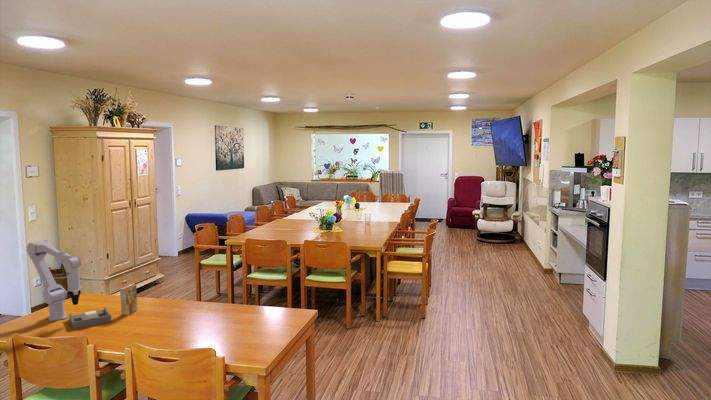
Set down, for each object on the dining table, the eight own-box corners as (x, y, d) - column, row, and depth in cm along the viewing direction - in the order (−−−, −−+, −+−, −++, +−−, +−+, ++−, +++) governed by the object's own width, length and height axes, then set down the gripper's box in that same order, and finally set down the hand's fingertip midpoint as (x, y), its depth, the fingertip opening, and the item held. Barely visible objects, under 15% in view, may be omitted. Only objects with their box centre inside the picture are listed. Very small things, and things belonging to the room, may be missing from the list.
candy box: (131, 309, 283) (130, 283, 281) (138, 310, 282) (136, 284, 280) (121, 315, 274) (119, 288, 273) (127, 315, 273) (125, 288, 272)
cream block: (85, 319, 262) (84, 312, 262) (95, 317, 265) (95, 310, 265) (86, 322, 258) (86, 314, 258) (97, 320, 261) (96, 312, 261)
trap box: (69, 319, 268) (68, 313, 267) (105, 312, 278) (105, 306, 278) (73, 329, 254) (72, 322, 254) (111, 321, 264) (111, 315, 264)
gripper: (83, 281, 259) (85, 306, 261) (80, 275, 271) (82, 299, 272) (68, 284, 255) (70, 309, 257) (65, 277, 267) (67, 302, 268)
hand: (75, 304), depth 264 cm, fingers closed
